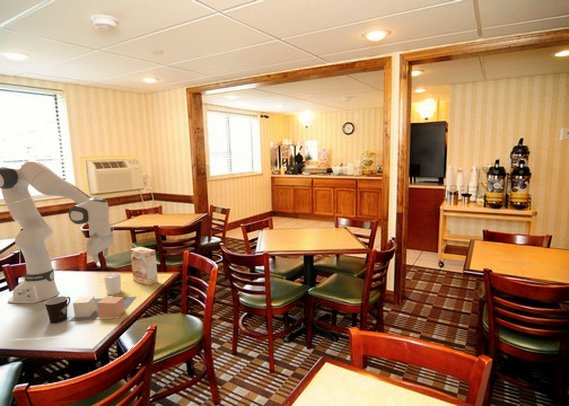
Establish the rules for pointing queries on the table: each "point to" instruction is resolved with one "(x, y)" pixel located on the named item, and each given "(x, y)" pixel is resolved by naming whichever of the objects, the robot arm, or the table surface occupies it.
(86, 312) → the pale beige cube
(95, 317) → the mat
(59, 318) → the coffee mug
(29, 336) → the table surface
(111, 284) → the white cup
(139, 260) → the coffeecake box
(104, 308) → the salmon rectangular box
